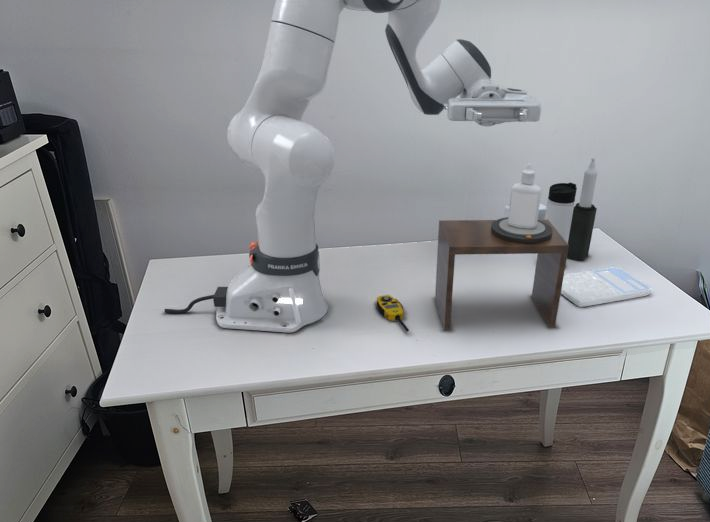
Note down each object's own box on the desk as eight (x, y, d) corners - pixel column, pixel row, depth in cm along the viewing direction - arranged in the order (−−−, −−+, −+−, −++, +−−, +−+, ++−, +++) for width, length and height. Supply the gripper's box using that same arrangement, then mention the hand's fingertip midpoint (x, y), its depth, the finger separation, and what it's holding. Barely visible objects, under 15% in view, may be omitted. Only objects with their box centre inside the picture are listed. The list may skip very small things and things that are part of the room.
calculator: (545, 283, 145) (547, 275, 144) (616, 271, 151) (617, 264, 150) (578, 308, 134) (580, 300, 133) (652, 295, 141) (654, 287, 140)
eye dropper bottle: (525, 232, 119) (533, 169, 112) (503, 224, 122) (510, 162, 116) (540, 227, 121) (548, 165, 115) (518, 219, 125) (525, 159, 118)
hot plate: (498, 244, 117) (498, 237, 116) (485, 221, 127) (486, 215, 126) (559, 243, 118) (560, 236, 117) (542, 221, 128) (543, 215, 127)
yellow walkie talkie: (393, 292, 134) (419, 324, 122) (393, 300, 135) (419, 332, 123) (372, 295, 132) (396, 328, 120) (372, 303, 133) (396, 336, 122)
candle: (582, 261, 156) (600, 161, 143) (563, 257, 158) (579, 158, 145) (589, 255, 159) (607, 157, 146) (570, 250, 162) (587, 153, 149)
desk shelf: (444, 330, 124) (449, 246, 115) (435, 298, 136) (439, 220, 126) (555, 327, 127) (569, 245, 117) (536, 296, 138) (548, 219, 129)
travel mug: (570, 266, 153) (584, 186, 143) (550, 272, 150) (563, 191, 139) (552, 257, 157) (564, 179, 147) (533, 263, 154) (544, 183, 144)
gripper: (442, 89, 137) (452, 100, 125) (532, 90, 139) (550, 102, 127) (441, 119, 140) (450, 133, 128) (528, 119, 142) (545, 133, 130)
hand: (500, 117), depth 128 cm, fingers open, 8 cm apart
